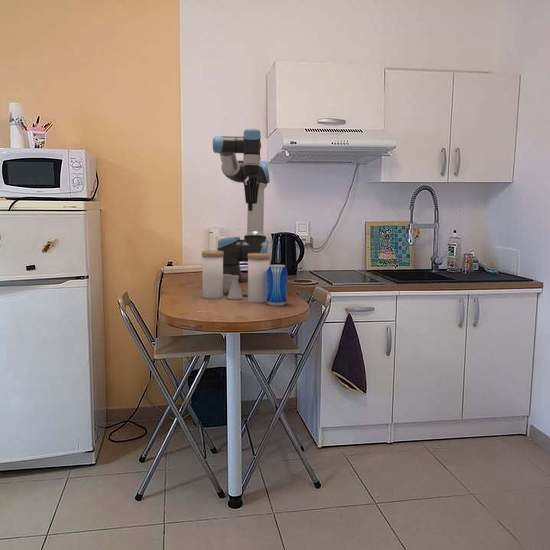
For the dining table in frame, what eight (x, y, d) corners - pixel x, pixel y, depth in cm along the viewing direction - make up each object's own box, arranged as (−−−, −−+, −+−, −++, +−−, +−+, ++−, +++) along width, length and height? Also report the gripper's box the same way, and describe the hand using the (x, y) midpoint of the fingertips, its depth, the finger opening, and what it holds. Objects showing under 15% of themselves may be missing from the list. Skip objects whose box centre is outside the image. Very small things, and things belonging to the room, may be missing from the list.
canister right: (252, 298, 236) (253, 252, 234) (272, 299, 233) (273, 253, 230) (243, 301, 228) (243, 254, 225) (264, 303, 224) (264, 255, 222)
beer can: (266, 302, 227) (267, 264, 225) (286, 302, 227) (287, 264, 225) (265, 305, 219) (266, 266, 217) (286, 306, 218) (287, 266, 216)
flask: (229, 300, 230) (230, 277, 228) (224, 297, 236) (224, 275, 235) (245, 299, 233) (246, 276, 231) (240, 297, 239) (240, 274, 238)
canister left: (208, 294, 245) (208, 250, 242) (227, 295, 241) (227, 251, 239) (197, 297, 236) (197, 251, 233) (217, 299, 232) (217, 252, 230)
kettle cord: (216, 294, 245) (216, 292, 245) (217, 293, 246) (217, 291, 246) (267, 298, 236) (267, 296, 235) (268, 298, 237) (268, 296, 236)
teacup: (228, 294, 245) (228, 277, 244) (205, 293, 247) (205, 276, 246) (237, 290, 258) (237, 273, 257) (215, 289, 260) (215, 272, 259)
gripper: (253, 163, 234) (252, 218, 237) (265, 165, 246) (264, 218, 249) (237, 164, 237) (237, 218, 240) (250, 166, 249) (250, 217, 252)
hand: (251, 218), depth 245 cm, fingers closed
